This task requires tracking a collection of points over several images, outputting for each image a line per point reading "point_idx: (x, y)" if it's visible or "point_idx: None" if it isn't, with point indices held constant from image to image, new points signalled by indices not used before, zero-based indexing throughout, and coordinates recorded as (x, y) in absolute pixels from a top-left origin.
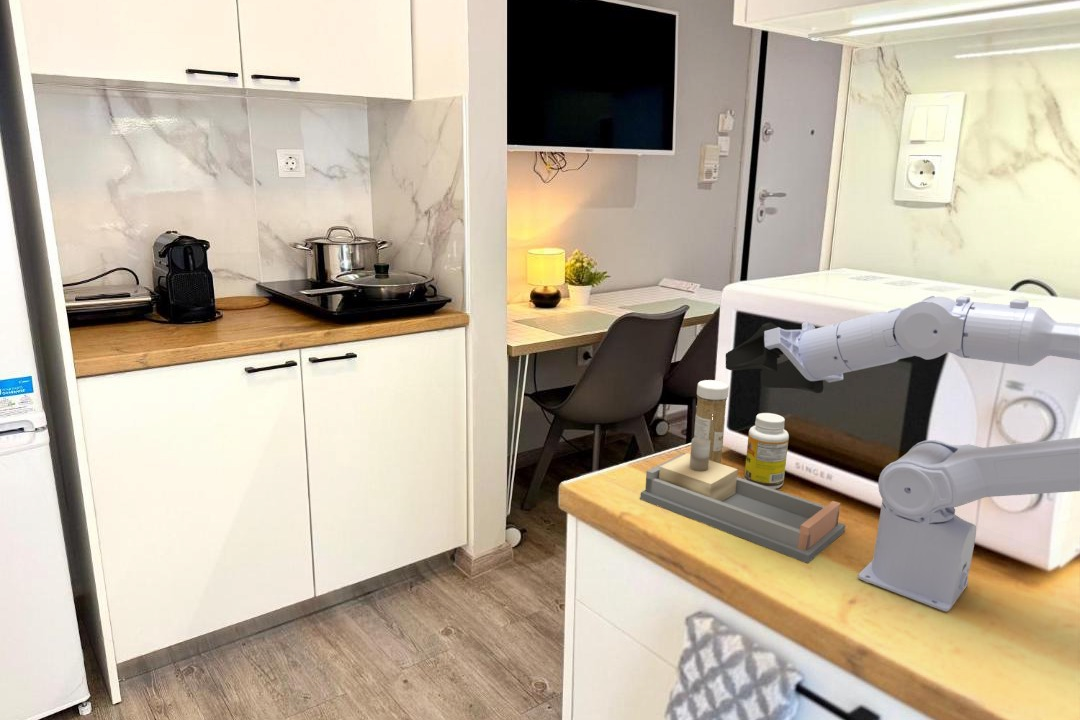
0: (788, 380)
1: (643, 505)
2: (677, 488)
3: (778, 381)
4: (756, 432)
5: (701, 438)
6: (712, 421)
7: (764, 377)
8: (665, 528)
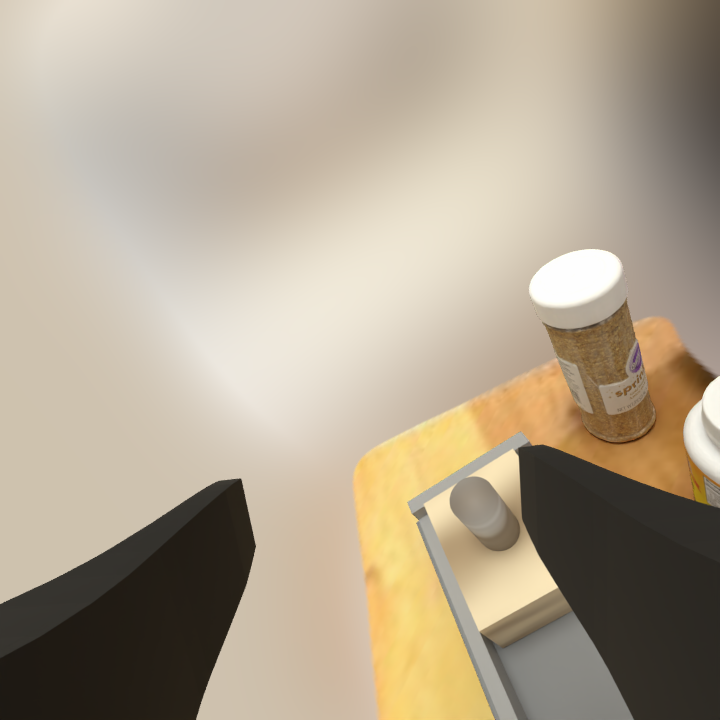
0: (620, 658)
1: (415, 553)
2: (441, 573)
3: (573, 590)
4: (698, 446)
5: (480, 485)
6: (583, 367)
7: (528, 496)
8: (401, 662)
